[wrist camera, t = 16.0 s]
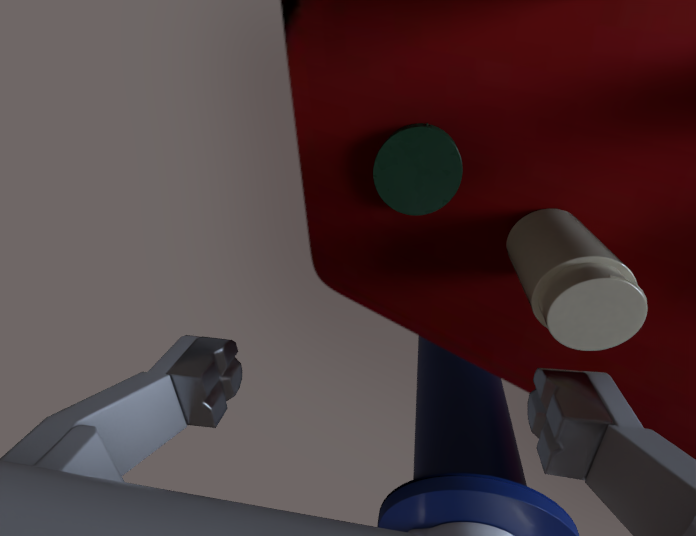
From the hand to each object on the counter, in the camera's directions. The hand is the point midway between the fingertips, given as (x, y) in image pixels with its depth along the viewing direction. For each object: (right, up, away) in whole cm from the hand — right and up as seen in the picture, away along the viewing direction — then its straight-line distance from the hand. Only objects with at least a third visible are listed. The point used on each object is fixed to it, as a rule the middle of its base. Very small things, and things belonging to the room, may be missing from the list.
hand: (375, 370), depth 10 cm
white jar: (+16, +5, +21) cm, 27 cm away
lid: (+5, +10, +19) cm, 22 cm away
